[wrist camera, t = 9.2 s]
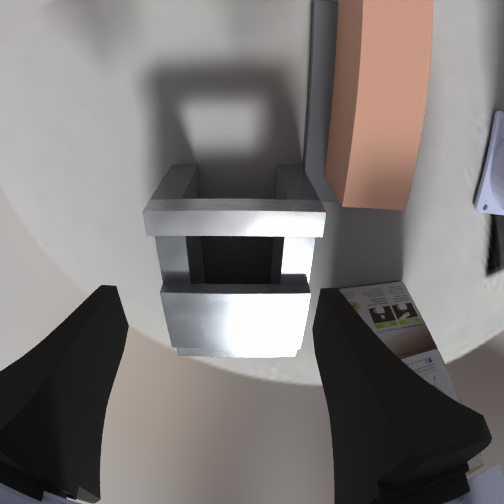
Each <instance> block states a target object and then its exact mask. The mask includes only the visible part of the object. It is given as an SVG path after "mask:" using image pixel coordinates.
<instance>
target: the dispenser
mask: <svg viewBox="0 0 504 504" xmlns="http://www.w3.org/2000/svg"><path fill="white" fill-rule="evenodd" d="M143 216H144V222H145V228H146V234H147V236H155V238H156V244H157V251H158V257H159V263H160V268H161V274H162V280H163V285H162V288H161V291H160V295H161V300H162V304H163V309H164V314H165V318H166V323H167V327H168V331H169V335H170V340H171V344H172V347H175V348H177V352H178V355H182V356H205V357H294V356H295V355H296V350H297V349H300V348H301V343H302V338H303V333H304V327H305V322H306V317H307V312H308V306H309V301H310V295H311V293H310V289H309V285H308V283H309V277H310V271H311V264H312V258H313V251H314V244H315V237H323V231H324V224H325V217H326V211H325V209H324V207H323V205H322V203H321V201H320V199H319V197H318V195H317V193H316V191H315V189H314V187H313V185H312V183H311V181H310V179H309V177H308V175H307V173H306V171H305V170H304V168H303V166H291V165H277V182H276V199H199V193H198V173H197V165H172V167H171V168H170V170H169V171H168V173H167V174H166V176H165V177H164V179H163V180H162V182H161V183H160V185H159V186H158V188H157V190H156V191H155V193H154V194H153V196H152V197H151V199H150V201H149V202H148V204H147V205H146V207H145V209H144V210H143ZM201 236H273V247H272V262H271V277H270V284H205V278H204V266H203V253H202V240H201Z"/></svg>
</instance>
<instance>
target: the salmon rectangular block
mask: <svg viewBox="0 0 504 504" xmlns="http://www.w3.org/2000/svg"><path fill="white" fill-rule="evenodd" d="M432 34H433V0H338V19H337V41H336V58H335V72H334V85H333V98H332V109H331V120H330V130H329V139H328V148H327V157H326V166H325V174H324V178H325V180H326V181H327V183H328V185H329V186H330V188H331V189H332V191H333V193H334V194H335V196H336V197H337V199H338V201H339V202H340V204H341V206H342V207H356V208H373V209H388V210H402V211H405V209H406V205H407V201H408V197H409V193H410V188H411V184H412V180H413V175H414V170H415V166H416V161H417V156H418V150H419V145H420V139H421V134H422V128H423V121H424V115H425V108H426V101H427V93H428V84H429V75H430V64H431V51H432Z"/></svg>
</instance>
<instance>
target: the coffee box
mask: <svg viewBox="0 0 504 504" xmlns="http://www.w3.org/2000/svg"><path fill="white" fill-rule="evenodd" d="M339 290H340V292H341V293H342V294H343V295H344V296H345V298H346V299H347V300H348V301H349V303H350V304H351V305H352V306H353V308H354V309H355V310H356V311H357V313H358V314H359V315H360V316H361V318H362V319H363V320H364V321H365V322H366V323H367V325H368V326H369V327H370V328H371V329H372V330H373V332H374V333H375V334H376V335H377V336H378V337H379V338H380V339H381V340H382V342H383V343H384V344H385V345H386V346H387V347H388V348H389V349H390V350H391V351H392V352H393V353H394V354H395V355H396V356H397V357H398V358H400V359H401V360H402V361H403V362H404V363H405V364H406V365H407V366H408V367H410V368H411V369H412V370H413V371H414V372H416V373H417V374H418V375H419V376H421V377H422V378H423V379H424V380H426V381H427V382H428V383H430V384H431V385H432V386H434V387H435V388H437V389H438V390H440V391H441V392H443V393H444V394H446V395H447V396H449V397H450V398H452V399H454V400H455V401H457V402H459V403H460V404H462V403H461V400H460V398H459V396H458V393H457V391H456V388H455V386H454V384H453V381H452V379H451V377H450V374H449V372H448V370H447V368H446V365H445V363H444V361H443V359H442V357H441V354H440V352H439V351H438V349H437V346H436V344H435V342H434V340H433V338H432V336H431V334H430V332H429V330H428V328H427V326H426V324H425V322H424V320H423V318H422V316H421V314H420V312H419V311H418V309H417V307H416V305H415V303H414V301H413V299H412V297H411V296H410V294H409V292H408V290H407V288H406V286H405V284H404V283H403V282H402V281H401V282H392V283H385V284H376V285H368V286H359V287H351V288H342V289H339ZM467 463H468V466H469V471H468V472H467V473H465V474H466V477H467V476H468V475H470V474H471V473H472V472H474V471H475V470H477V469H478V468H480V467H482V466H483V465H484V463H483V461H482V458H481V455H480V453H479V454H477V455H476V456H475V457H473V458H472V459H471V460H469V461H468V462H467Z"/></svg>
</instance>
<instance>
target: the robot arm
mask: <svg viewBox="0 0 504 504" xmlns="http://www.w3.org/2000/svg"><path fill="white" fill-rule="evenodd" d="M484 205H485V206H484ZM483 206H484V207H483ZM474 209H475V210H476V211H477V212H481V213H490V214H498V215H504V112H502V111H497V112H496V113H495V116H494V122H493V128H492V133H491V139H490V144H489V148H488V153H487V158H486V162H485V166H484V170H483V174H482V178H481V182H480V186H479V189H478V193H477V197H476V200H475V203H474ZM128 327H129V325H128V322H127V319H126V316H125V313H124V310H123V307H122V304H121V300H120V297H119V294H118V291H117V287H116V286H110V285H101V286H100V287H99V288H98V289H96V290H95V291H94V292H93V293H92V294H91V295H90V296H89V297H88V298H87V299H86V300H85V301H84V302H83V303H82V304H81V305H80V306H79V307H78V308H77V309H76V310H75V311H74V312H73V313H72V314H71V315H70V316H68V318H67V319H65V320H64V321H63V322H62V323H61V324H60V325H59V326H58V327H57V328H56V329H55V330H54V331H52V332H51V333H50V334H49V335H48V336H47V337H46V338H45V339H44V340H43V341H41V342H40V343H39V344H38V345H37V346H35V347H34V348H33V349H32V350H30V351H29V352H28V353H26V354H25V355H24V356H23V357H21V358H20V359H18V360H17V361H15V362H14V363H12V364H11V365H9V366H8V367H6V368H5V369H4V370H2V371H0V504H80V503H77V502H74V501H70V500H68V499H67V497H68V498H71V499H74V500H76V499H79V500H82V501H86V502H89V503H96V502H98V501H99V500H100V499H101V498H100V456H101V443H102V433H103V426H104V419H105V413H106V407H107V404H108V399H109V396H110V392H111V389H112V386H113V383H114V379H115V377H116V373H117V370H118V367H119V364H120V361H121V358H122V354H123V351H124V347H125V342H126V337H127V332H128ZM312 331H313V339H314V348H315V355H316V359H317V364H318V368H319V372H320V376H321V380H322V384H323V388H324V392H325V397H326V401H327V405H328V411H329V416H330V424H331V434H332V446H333V459H334V481H335V504H504V479H503V476H502V473H501V469H500V466H499V465H496V466H494V467H492V468H490V469H487V470H486V471H483V472H481V473H480V474H477V475H475V476H473V477H471V478H469V479H467V478H466V474H465V473H467V472H468V471H469V466H468V463H467V462H468V461H469V460H471V459H472V458H473V457H475V456H476V455H477V454H479V453H480V452H481V451H482V450H484V449H485V448H486V447H487V446H488V445H489V444H490V442H491V440H492V436H491V434H490V431H489V429H488V426H487V424H486V421H485V419H484V417H483V415H481V414H479V413H477V412H476V411H474V410H472V409H470V408H468V407H466V406H464V405H462V404H460V403H459V402H457V401H455V400H454V399H452V398H450V397H449V396H447V395H446V394H444V393H443V392H441V391H440V390H438V389H437V388H435V387H434V386H432V385H431V384H430V383H428V382H427V381H426V380H424V379H423V378H422V377H421V376H419V375H418V374H417V373H416V372H414V371H413V370H412V369H411V368H410V367H408V366H407V365H406V364H405V363H404V362H403V361H402V360H401V359H400V358H398V357H397V356H396V355H395V354H394V353H393V352H392V351H391V350H390V349H389V348H388V347H387V346H386V345H385V344H384V343H383V342H382V340H381V339H380V338H379V337H378V336H377V335H376V334H375V333H374V332H373V330H372V329H371V328H370V327H369V326H368V325H367V323H366V322H365V321H364V320H363V319H362V318H361V316H360V315H359V314H358V313H357V311H356V310H355V309H354V308H353V306H352V305H351V304H350V303H349V301H348V300H347V299H346V298H345V296H344V295H343V294H342V293H341V292H340V290H339V289H338V288H321V290H320V295H319V300H318V305H317V310H316V315H315V319H314V324H313V329H312Z"/></svg>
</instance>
